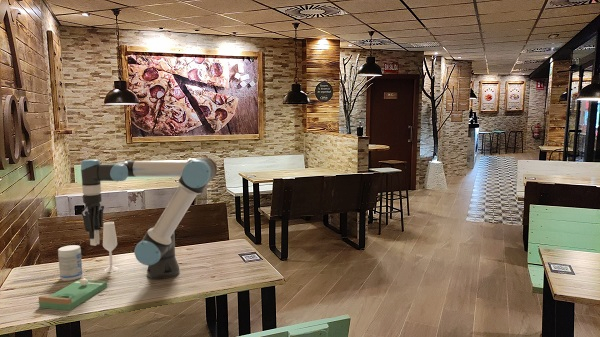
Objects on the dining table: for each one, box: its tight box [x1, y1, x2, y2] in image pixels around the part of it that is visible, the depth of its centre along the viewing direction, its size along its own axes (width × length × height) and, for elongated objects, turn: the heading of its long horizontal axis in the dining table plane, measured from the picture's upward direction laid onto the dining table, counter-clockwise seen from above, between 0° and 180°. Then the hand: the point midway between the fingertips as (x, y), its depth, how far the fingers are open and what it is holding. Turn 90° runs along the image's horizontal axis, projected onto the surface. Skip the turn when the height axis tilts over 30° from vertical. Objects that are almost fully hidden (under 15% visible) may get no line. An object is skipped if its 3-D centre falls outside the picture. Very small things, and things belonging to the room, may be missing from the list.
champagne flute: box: [102, 221, 120, 273], centre depth 217 cm, size 7×7×24 cm
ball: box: [80, 278, 89, 286], centre depth 192 cm, size 3×3×3 cm
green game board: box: [38, 278, 108, 311], centre depth 186 cm, size 14×24×4 cm, turn 169°
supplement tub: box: [57, 244, 83, 282], centre depth 207 cm, size 10×10×15 cm
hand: (95, 244), depth 199 cm, fingers closed
